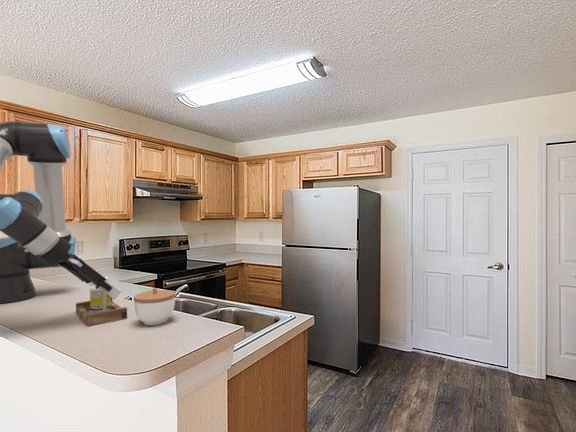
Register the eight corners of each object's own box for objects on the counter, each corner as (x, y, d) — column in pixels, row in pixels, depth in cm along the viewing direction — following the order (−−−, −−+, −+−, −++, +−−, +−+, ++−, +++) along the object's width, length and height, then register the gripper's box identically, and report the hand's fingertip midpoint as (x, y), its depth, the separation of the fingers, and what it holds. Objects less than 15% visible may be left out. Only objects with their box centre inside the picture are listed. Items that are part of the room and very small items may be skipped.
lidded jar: (159, 314, 101) (158, 283, 101) (183, 319, 95) (183, 286, 95) (126, 324, 92) (125, 290, 92) (151, 330, 86) (150, 294, 86)
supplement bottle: (106, 306, 105) (106, 275, 104) (113, 310, 101) (114, 278, 101) (87, 310, 100) (87, 277, 100) (94, 314, 97) (94, 280, 97)
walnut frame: (76, 312, 104) (75, 303, 104) (111, 306, 111) (111, 297, 111) (87, 326, 91) (87, 315, 90) (127, 318, 97) (126, 308, 97)
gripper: (27, 254, 94) (91, 300, 107) (48, 259, 83) (117, 309, 95) (48, 234, 98) (108, 281, 111) (71, 236, 87) (135, 287, 100)
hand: (112, 294), depth 103 cm, fingers closed on supplement bottle, 5 cm apart
